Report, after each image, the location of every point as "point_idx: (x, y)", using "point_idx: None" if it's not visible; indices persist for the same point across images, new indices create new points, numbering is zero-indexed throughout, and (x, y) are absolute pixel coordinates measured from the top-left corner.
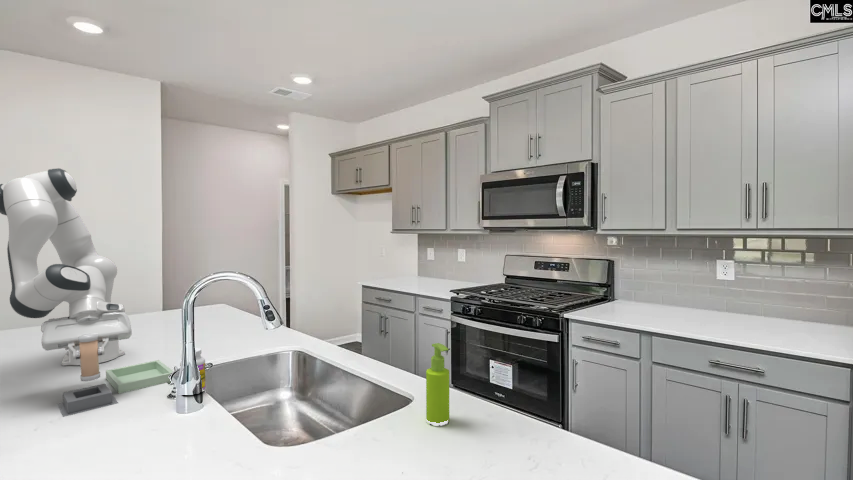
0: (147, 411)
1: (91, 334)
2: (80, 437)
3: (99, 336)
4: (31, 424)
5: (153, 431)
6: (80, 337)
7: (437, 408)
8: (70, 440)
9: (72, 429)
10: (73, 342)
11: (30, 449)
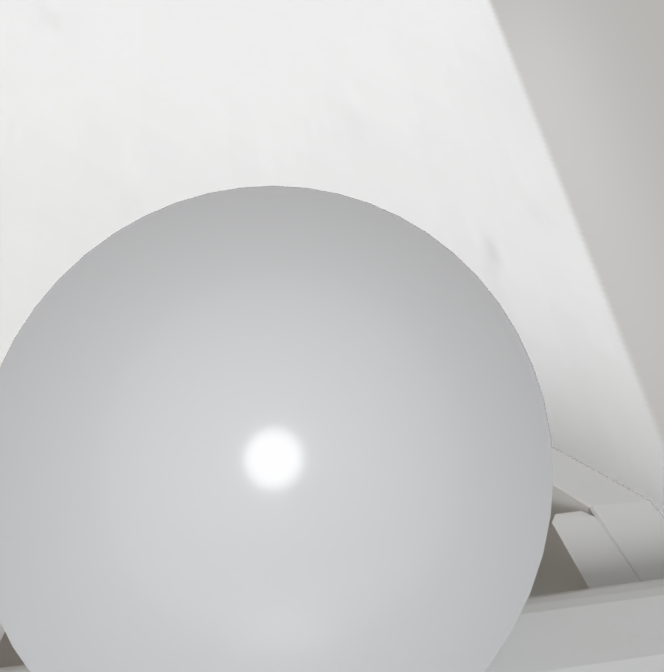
0: (57, 219)
1: (179, 580)
2: (303, 82)
3: (13, 670)
4: (530, 325)
5: (56, 5)
6: (455, 299)
7: None
8: (333, 73)
9: (346, 175)
10: (607, 582)
11: (451, 66)
